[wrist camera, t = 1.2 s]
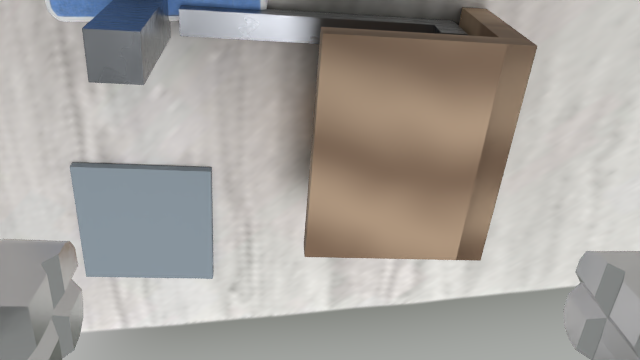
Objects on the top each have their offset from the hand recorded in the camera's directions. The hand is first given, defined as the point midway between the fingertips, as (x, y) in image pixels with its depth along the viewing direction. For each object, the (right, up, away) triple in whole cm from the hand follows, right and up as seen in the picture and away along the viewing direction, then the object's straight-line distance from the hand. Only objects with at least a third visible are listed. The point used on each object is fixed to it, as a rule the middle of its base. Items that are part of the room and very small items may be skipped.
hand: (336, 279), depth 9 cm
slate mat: (-12, -1, +31) cm, 33 cm away
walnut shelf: (+4, +6, +28) cm, 29 cm away
